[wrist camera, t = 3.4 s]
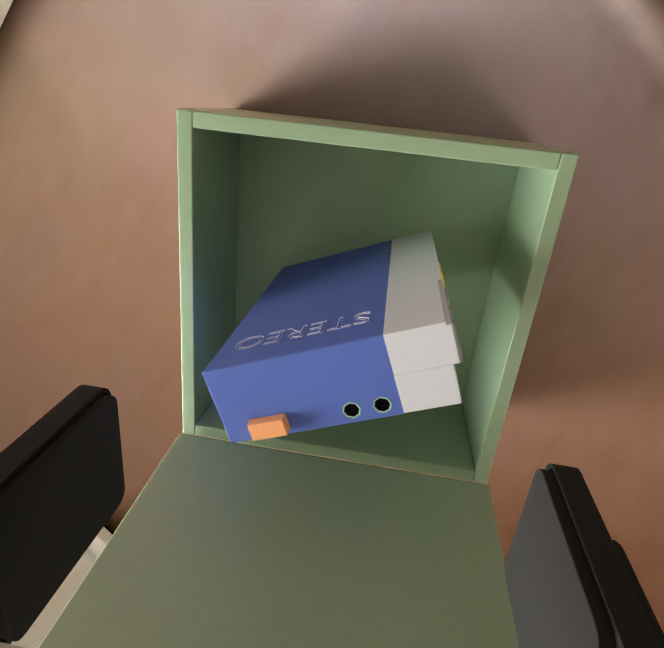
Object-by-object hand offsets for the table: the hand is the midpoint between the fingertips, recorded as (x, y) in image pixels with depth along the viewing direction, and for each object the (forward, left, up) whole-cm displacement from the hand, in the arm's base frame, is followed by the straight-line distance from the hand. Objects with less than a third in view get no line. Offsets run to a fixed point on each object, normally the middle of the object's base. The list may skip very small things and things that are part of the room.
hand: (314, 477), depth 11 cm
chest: (0, 0, -17) cm, 17 cm away
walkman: (0, 0, -16) cm, 16 cm away
